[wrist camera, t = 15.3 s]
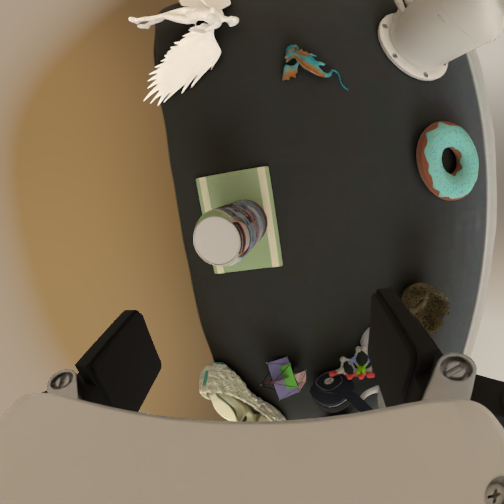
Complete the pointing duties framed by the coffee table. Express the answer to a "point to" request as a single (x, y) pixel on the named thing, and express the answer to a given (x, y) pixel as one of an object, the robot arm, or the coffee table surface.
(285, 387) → the green polyhedron model
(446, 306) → the cup
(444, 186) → the donut
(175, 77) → the figurine
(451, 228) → the coffee table surface
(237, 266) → the towel mat
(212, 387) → the ballet flat
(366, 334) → the white pebble
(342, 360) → the molecular model
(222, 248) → the beverage can
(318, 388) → the earphone
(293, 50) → the dragon figurine
